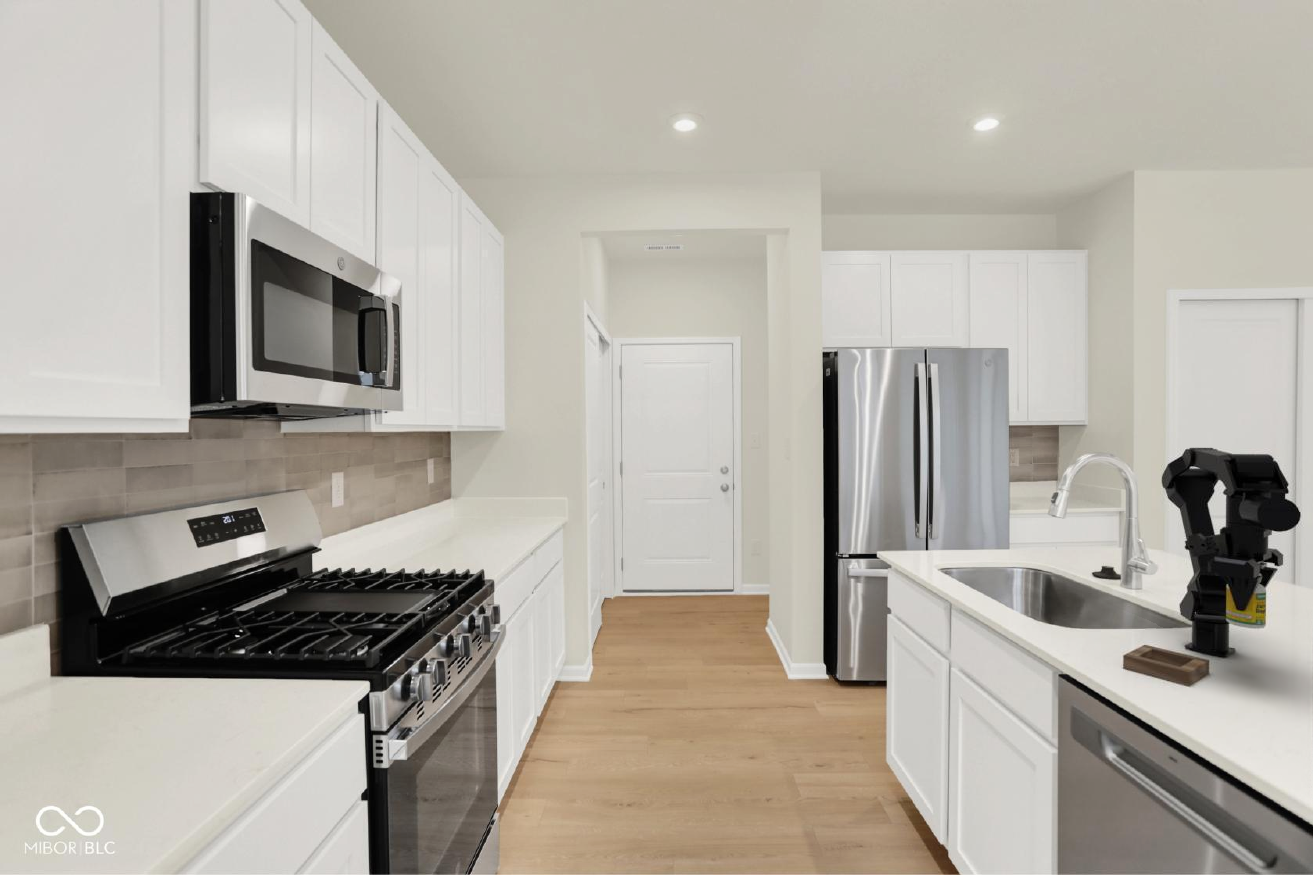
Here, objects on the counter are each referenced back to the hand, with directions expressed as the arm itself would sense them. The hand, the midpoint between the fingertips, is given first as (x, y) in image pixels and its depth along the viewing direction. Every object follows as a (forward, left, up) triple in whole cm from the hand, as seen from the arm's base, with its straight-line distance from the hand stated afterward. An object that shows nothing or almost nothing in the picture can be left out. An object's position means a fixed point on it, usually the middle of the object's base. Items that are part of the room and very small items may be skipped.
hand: (1245, 607), depth 116 cm
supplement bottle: (0, 0, -3) cm, 3 cm away
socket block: (+9, -9, -12) cm, 18 cm away
